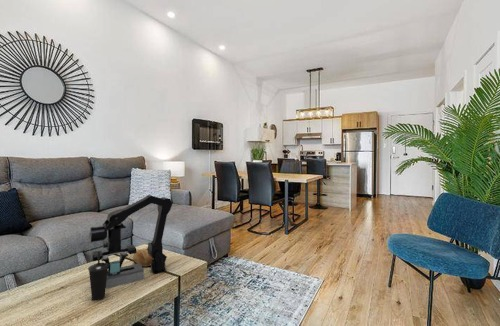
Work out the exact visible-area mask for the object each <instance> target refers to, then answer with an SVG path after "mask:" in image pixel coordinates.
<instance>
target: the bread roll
mask: <svg viewBox="0 0 500 326" xmlns="http://www.w3.org/2000/svg"><path fill="white" fill-rule="evenodd" d="M152 259H153V258H152V257H151V256H150V255H149V254H148V251H147V248H146V249H144V248H142V249H137V250H136V253H134V254H133V255H132V260H133V261H134V263H135V264H138V263H140V265H141V266H142V267H151V262H152Z"/></svg>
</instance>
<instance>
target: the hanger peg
mask: <svg viewBox="0 0 500 326" xmlns="http://www.w3.org/2000/svg"><path fill="white" fill-rule="evenodd" d="M119 260H120V259H119ZM119 260H114V261H109V263H110V274H111V273H112V275H115V274H117V272H119V271H120V263H119Z"/></svg>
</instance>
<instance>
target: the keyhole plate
mask: <svg viewBox="0 0 500 326" xmlns="http://www.w3.org/2000/svg"><path fill="white" fill-rule="evenodd" d="M144 271H145V270H144V268H143V266H141V265H140V263H138V264H137V263H133V264H129V265H126V266H124V265H123V266H121V268H120V271H119V272H117V274H115V275H112V273H111V274H110V271H109V270H108V272H107V281H106V290H107V289H111V288H115V287H118V286H122V285H126V284H130V283H131V284H132V283H134V282H139V281H142V280H144V279H145V278H144V276H145V275H144V273H145V272H144Z"/></svg>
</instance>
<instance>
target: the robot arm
mask: <svg viewBox="0 0 500 326" xmlns="http://www.w3.org/2000/svg"><path fill="white" fill-rule="evenodd" d="M151 204H153V205H156V206H157V213H158V214H157V219H156V223H155V228H154V234H153V238H152V241H151V242H148V243H147V248H146V249H147V251H148V254H149V255H150V256H151V257H152V258H153V259H152V262H151V265H150V271H151V272H152V273H153V274H154V275H155V274H159V273H163V272H167V269H166V261H167V259H168V256H167V255H166V254H164V253H163V251H164V250H163V236H164V231H165V227H166V221H167V217H168V214H169V213H170V211H171V209H172V206H173V200H172V199H171V198H168V197H165V196H162V197H158V196H154V195H152V194H148V195H146V196H145V197H143V198H141V199H138V200H137V201H135V202H133V203H131V204H129V205H128V206H126V207H123V208H119V209H116V210H113V211H111V212H109V213H108V214H107V217H106V219H105V220H104V222H103V223H102V224H101V225H100V226H91V227H90V230H89V234H88V236H89V243H96V242H102V248H103V249H106V251H102V250H96V251H93V252H92V253H91V261H92V262H98V252H100V261H101V262H104V263H108V264H109V267H108V270H109V271H110V263H109V262H110V258H109V256H113V255H119V263H120V268H121V267H123V264H124V262H125V259H126V258H127V257H129V255H134V253H136V251H137V247H136V246H135V245H134V244H129V245H126V246H125V248H122V230H123V229H126V228H127V226H126V225H124V224H123V222H125V221H126V219H128V217H129V216H131V215H132V214H135V213H136V212H138V211H140V210H141V209H144V208H146V207H147V206H149V205H151ZM106 239H107V240H106Z"/></svg>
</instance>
